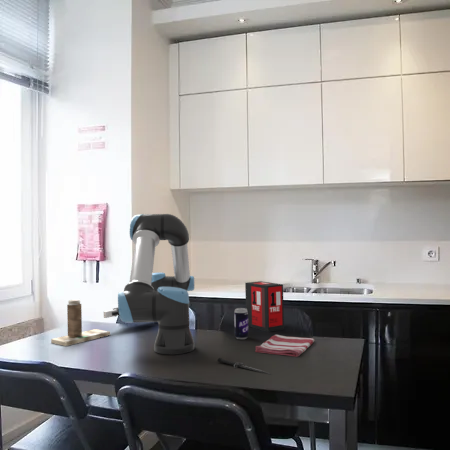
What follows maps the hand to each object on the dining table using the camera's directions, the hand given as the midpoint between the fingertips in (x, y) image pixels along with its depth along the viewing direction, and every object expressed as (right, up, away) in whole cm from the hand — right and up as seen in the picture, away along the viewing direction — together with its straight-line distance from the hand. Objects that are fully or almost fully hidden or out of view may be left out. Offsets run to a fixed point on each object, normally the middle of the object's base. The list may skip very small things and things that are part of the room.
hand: (104, 314), depth 203 cm
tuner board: (-7, -8, -10) cm, 15 cm away
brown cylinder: (-8, -6, -13) cm, 17 cm away
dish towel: (+77, -7, -29) cm, 82 cm away
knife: (+61, -7, -56) cm, 83 cm away
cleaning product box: (+71, -7, +6) cm, 72 cm away
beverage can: (+60, -7, -14) cm, 62 cm away
